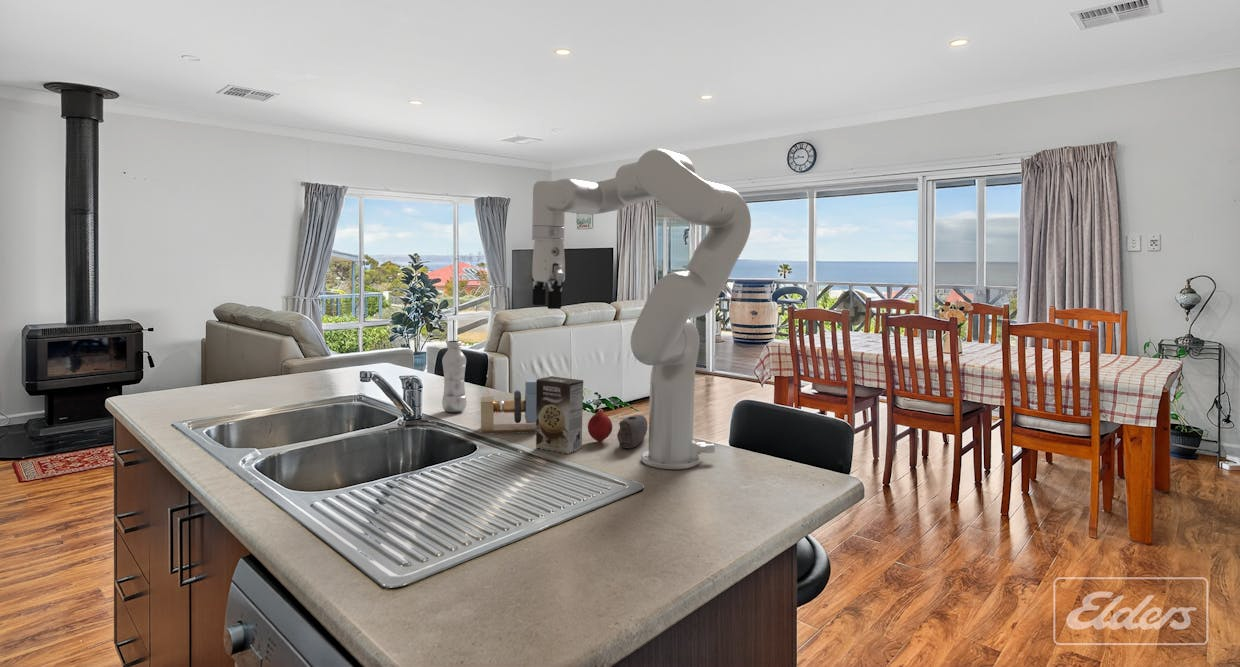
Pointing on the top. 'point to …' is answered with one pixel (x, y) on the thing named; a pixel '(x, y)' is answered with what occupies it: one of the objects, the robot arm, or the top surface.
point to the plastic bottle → (454, 378)
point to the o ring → (517, 406)
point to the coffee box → (559, 414)
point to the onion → (599, 426)
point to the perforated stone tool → (632, 431)
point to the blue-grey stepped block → (530, 401)
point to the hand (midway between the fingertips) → (546, 306)
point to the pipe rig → (501, 407)
